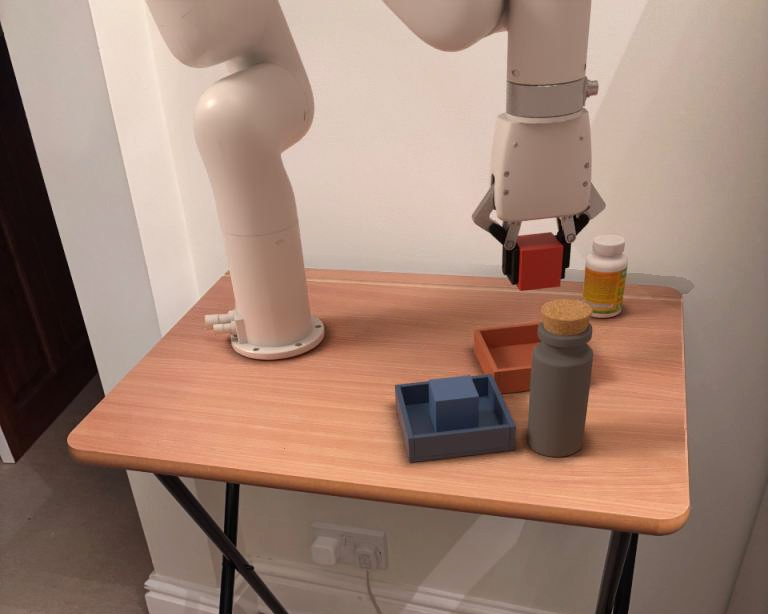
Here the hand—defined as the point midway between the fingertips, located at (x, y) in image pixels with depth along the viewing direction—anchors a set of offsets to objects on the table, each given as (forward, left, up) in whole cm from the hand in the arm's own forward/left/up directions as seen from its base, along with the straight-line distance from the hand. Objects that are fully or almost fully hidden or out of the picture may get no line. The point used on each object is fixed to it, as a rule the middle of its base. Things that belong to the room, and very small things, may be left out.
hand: (535, 275), depth 88 cm
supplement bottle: (+13, +13, -12) cm, 22 cm away
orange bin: (0, 0, -11) cm, 11 cm away
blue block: (-12, -12, -11) cm, 20 cm away
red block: (0, 0, -1) cm, 1 cm away
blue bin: (-12, -11, -11) cm, 20 cm away
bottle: (-2, -16, -12) cm, 20 cm away
